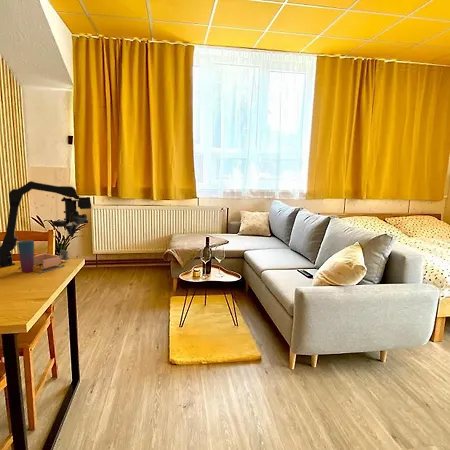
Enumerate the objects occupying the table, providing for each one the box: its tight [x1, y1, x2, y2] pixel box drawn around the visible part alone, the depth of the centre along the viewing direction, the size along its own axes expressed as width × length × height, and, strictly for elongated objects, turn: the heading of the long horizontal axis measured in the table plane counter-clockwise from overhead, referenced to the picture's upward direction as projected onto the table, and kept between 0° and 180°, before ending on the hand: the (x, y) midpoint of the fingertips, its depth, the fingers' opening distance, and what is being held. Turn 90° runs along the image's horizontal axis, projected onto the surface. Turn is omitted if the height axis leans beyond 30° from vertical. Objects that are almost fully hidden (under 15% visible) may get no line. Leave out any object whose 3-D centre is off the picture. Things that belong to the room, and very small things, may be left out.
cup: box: [17, 239, 35, 274], centre depth 162 cm, size 7×7×15 cm
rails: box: [18, 262, 66, 274], centre depth 170 cm, size 16×14×1 cm
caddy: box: [34, 249, 69, 271], centre depth 174 cm, size 17×12×6 cm
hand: (71, 237), depth 185 cm, fingers closed
